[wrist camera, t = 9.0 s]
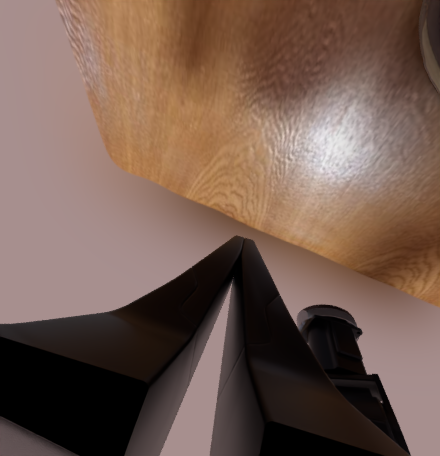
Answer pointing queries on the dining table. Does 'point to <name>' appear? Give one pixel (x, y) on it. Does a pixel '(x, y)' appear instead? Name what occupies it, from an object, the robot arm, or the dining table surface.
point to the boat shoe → (430, 39)
